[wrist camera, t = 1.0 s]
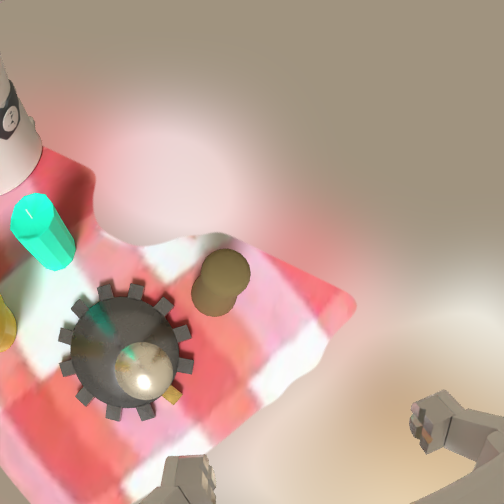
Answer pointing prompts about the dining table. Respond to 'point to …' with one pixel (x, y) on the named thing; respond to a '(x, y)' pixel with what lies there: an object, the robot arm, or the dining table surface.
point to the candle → (42, 231)
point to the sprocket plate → (125, 352)
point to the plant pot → (6, 326)
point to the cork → (220, 282)
